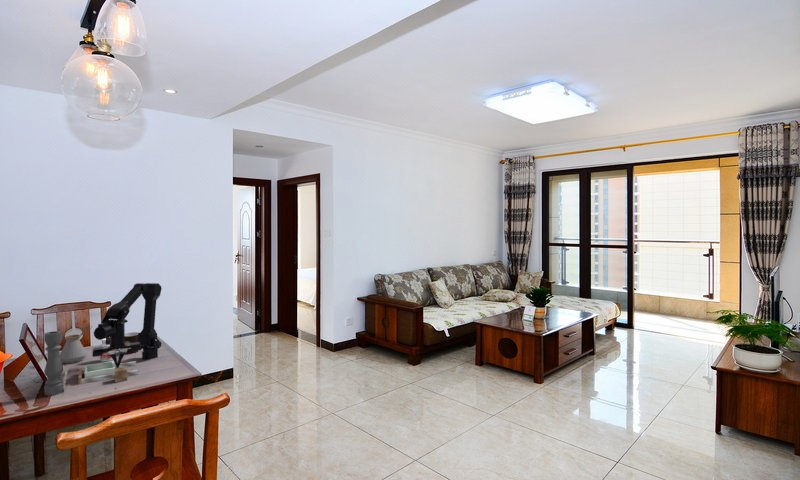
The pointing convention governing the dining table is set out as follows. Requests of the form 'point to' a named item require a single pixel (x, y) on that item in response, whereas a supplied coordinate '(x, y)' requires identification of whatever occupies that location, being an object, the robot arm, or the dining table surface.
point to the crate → (99, 369)
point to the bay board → (105, 377)
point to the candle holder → (53, 364)
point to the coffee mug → (131, 340)
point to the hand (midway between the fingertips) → (117, 367)
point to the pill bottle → (104, 356)
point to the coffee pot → (73, 349)
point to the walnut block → (121, 374)
